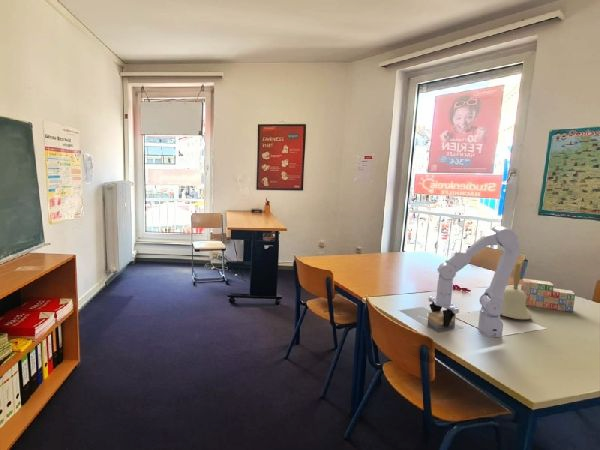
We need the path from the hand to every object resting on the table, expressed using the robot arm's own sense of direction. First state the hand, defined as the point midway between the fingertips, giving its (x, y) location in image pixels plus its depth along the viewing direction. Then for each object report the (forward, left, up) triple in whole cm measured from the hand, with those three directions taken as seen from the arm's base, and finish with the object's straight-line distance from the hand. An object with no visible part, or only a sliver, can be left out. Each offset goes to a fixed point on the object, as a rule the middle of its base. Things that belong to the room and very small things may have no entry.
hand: (441, 323), depth 144 cm
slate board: (+6, +3, -2) cm, 7 cm away
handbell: (+20, -38, -2) cm, 43 cm away
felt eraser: (0, 0, -1) cm, 1 cm away
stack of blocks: (+36, -62, -2) cm, 72 cm away
